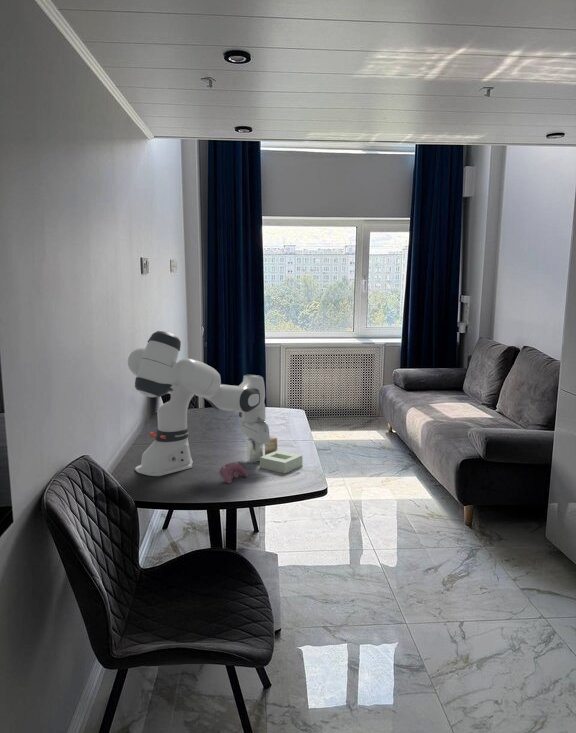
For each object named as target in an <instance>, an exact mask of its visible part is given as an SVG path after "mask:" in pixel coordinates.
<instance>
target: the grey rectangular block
mask: <svg viewBox="0 0 576 733" xmlns="http://www.w3.org/2000/svg"><path fill="white" fill-rule="evenodd" d="M255 444H256V443H255V441H254V440H252V439H248V438H247V439H246V449H247V452H246V454H247V456H246V458H247V462H248V463H249V462H250V463H249V464H252V462H254V463H258V462H257V461H260V457H262V456H264V455H263V454H264V448H263V446H264V444H261V445H260V451H258V452H256V451H255V450H254V446H255Z"/></svg>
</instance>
